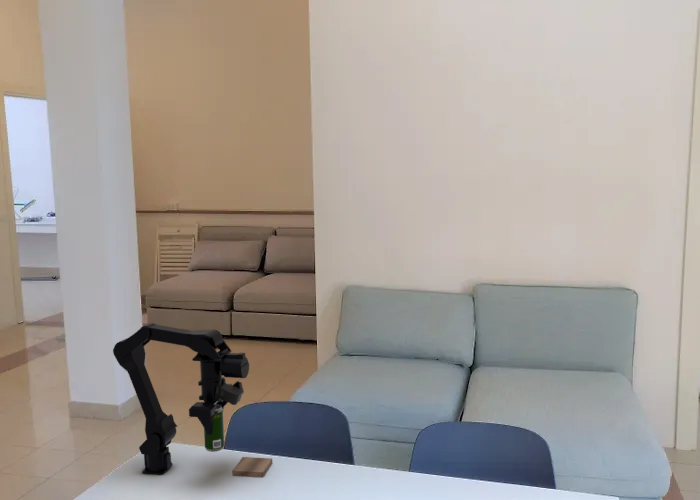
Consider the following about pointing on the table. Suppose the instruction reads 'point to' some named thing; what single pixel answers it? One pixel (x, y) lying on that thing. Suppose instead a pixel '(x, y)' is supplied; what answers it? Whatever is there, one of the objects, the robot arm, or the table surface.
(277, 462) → the table surface
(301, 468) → the table surface
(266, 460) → the brown square coaster
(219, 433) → the beer can
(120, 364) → the robot arm
